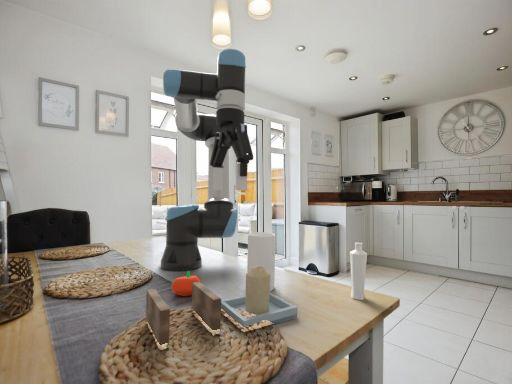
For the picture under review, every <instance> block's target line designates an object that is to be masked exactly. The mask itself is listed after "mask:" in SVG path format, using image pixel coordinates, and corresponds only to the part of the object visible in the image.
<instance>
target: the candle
mask: <svg viewBox="0 0 512 384" xmlns="http://www.w3.org/2000/svg"><path fill="white" fill-rule="evenodd" d="M270 293H271V291H270V274H269V272H268V271H266V270H265V269H264V267H262V266H260V267H256V268H252V269H250V270H249V271H248V272H247V271H246V274H245V295H246V303H245V310H246V311H247V312H249V313H253V314H257V315H260V314H263V313H267V312H269V294H270Z"/></svg>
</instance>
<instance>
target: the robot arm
mask: <svg viewBox="0 0 512 384" xmlns="http://www.w3.org/2000/svg"><path fill="white" fill-rule="evenodd" d="M216 66H217V68H216V69H217V70H216V73H211V72H210V73H207V72H199V71H193V70H191V71H190V70H182V69H179V68H178V69H177V68H176V69H173V68H172V69H171V68H167V69H164V71H163V80H162V85H163V87H162V88H163V93H164V95H165V96H167V97H171V98H173V103H174V107H175V113H176V115H175V124H176V127H177V129H178V131H179V132H181V134H182V135H183V136H186V137H187V138H189V139H190V140H193V141H199V142H204V145H205V147H207V148H208V170H207V171H208V175H207V177H208V179H207V181H208V182H207V186H208V187H207V193H208V194H207V201H205V202H204V203H203V207H200V206H199V204H198V203H197V204H196V203H195V204H183V205H176V206H171V207H169V208H168V209H167V212H166V220H165V221H166V235H165V236H166V239H165V241H166V242H165V243H166V244H165V248H164V251H163V254H162V256H161V259H160V268H161V269H162V270H165V271H173V272H177V271H179V272H181V271H182V272H183V271H190V270H195V269H198V268H200V267H202V265H203V264H202V263H203V261H202V260H203V259H202V255H201V252H200V250H199V249H200V248H199V245H198V242H199V241H198V239H217V238H220V239H224V238H225V239H226V238H232V237H233V236H234V234H235V233H236V227H237V221H238V208H236V207H234V203H233V202H232V201H231V200H230V162H229V161H230V157H229V152H230V151H229V150H230V149H231V148H232V150H233V152H234V154H235V157H236V161H235V162H236V164H235V191H247V190H248V165H249V164H250V161H253V160H254V153H253V150H252V147H251V142H250V137H249V135H248V124H246V123H245V109H246V106H245V105H246V89H245V88H246V69H247V65H246V56H245V54H244V52H242V51H241V50H239V49H235V48H224V49H222V50H221V51H219V52H218V55H217V62H216ZM198 100H205V101H212V102H213V101H214V102H216V109H217V110H216V112H215V113H216V114H209V113H198Z"/></svg>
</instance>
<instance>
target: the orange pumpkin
mask: <svg viewBox="0 0 512 384" xmlns="http://www.w3.org/2000/svg"><path fill="white" fill-rule="evenodd" d="M194 282H200V283H201V284H202V281H201V279H200V278H199V277H198V276H197V275H193V274H191V271H190V270H186V275H183V276H180V277H176V278H175V279H174V280H173V282H172V283H171V290H172V292H173V293H174V294H176V295H177V296H181V297H190V296H192V283H194Z"/></svg>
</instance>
